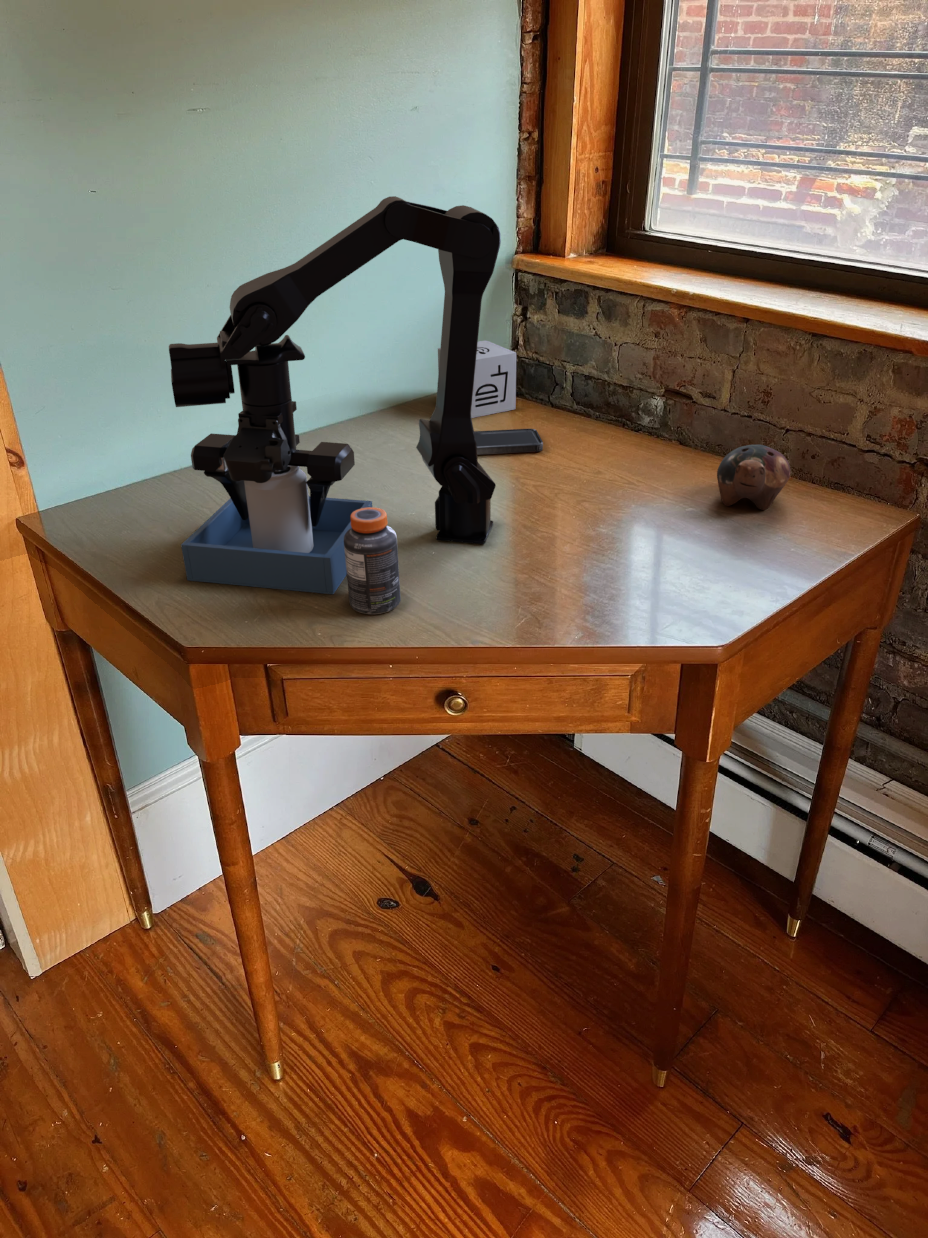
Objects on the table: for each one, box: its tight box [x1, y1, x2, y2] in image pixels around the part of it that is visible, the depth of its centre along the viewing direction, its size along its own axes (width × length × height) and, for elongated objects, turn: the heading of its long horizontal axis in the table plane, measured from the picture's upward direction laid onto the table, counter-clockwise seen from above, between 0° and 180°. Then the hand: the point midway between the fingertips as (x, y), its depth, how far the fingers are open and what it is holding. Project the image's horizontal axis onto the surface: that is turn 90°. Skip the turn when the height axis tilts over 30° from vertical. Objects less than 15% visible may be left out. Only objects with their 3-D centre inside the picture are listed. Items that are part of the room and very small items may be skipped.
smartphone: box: [474, 428, 544, 456], centre depth 154 cm, size 8×1×15 cm
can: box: [244, 465, 314, 553], centre depth 118 cm, size 8×8×12 cm
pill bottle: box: [344, 506, 402, 615], centre depth 107 cm, size 6×6×11 cm
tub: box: [180, 495, 373, 595], centre depth 120 cm, size 19×17×5 cm
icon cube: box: [437, 339, 517, 419], centre depth 169 cm, size 10×10×10 cm
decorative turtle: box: [716, 444, 791, 511], centre depth 132 cm, size 10×15×8 cm, turn 163°
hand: (280, 522), depth 119 cm, fingers open, 9 cm apart
